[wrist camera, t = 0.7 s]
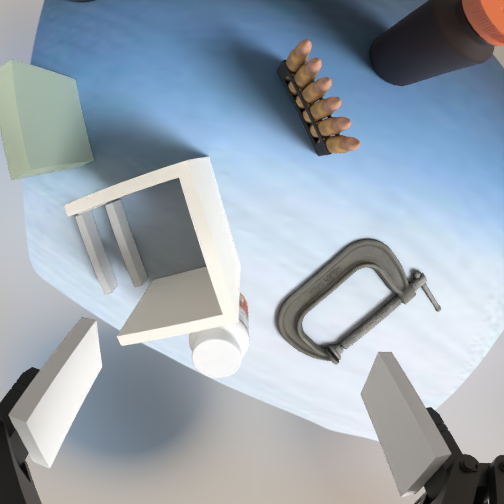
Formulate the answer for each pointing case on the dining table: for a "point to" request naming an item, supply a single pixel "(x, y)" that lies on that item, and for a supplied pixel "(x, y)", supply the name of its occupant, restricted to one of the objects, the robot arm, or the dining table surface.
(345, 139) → the ammunition clip
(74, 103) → the door
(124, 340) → the cabinet
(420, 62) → the vinegar
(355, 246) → the c clamp
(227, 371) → the pill bottle
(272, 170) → the dining table surface
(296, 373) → the dining table surface
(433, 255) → the dining table surface
